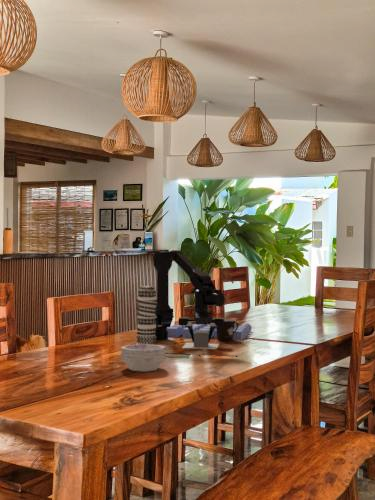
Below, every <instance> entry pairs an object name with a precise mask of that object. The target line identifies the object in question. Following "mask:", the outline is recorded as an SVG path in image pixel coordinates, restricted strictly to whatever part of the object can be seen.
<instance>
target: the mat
mask: <svg viewBox="0 0 375 500" xmlns="http://www.w3.org/2000/svg"><path fill="white" fill-rule="evenodd" d="M191 354H192V353H173V352H172V353H171V352H170V353H169V352H165V358H184V359H186V358H190V356H191Z"/></svg>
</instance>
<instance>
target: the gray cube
mask: <svg viewBox="0 0 375 500" xmlns="http://www.w3.org/2000/svg"><path fill="white" fill-rule="evenodd" d="M208 341H209V333H208V331H194V342H193V343H194V347H208Z"/></svg>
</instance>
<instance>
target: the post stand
mask: <svg viewBox="0 0 375 500" xmlns="http://www.w3.org/2000/svg"><path fill="white" fill-rule="evenodd" d="M219 346H220V343H210V342H209V343H208V347H194V342H186V343H185V344H184V345H183V346H182V348H181V349H191V350H192V349H198V350H218V347H219Z"/></svg>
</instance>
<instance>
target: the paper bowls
mask: <svg viewBox="0 0 375 500" xmlns="http://www.w3.org/2000/svg"><path fill="white" fill-rule="evenodd" d="M120 349H121V351H120V362H122V363H125V364H126V367H127V369H128V370H130V371H132V372H139V373H140V372H141V373H142V372H143V373H145V372H146V373H147V372H153V371H156V370H158V369H159V367H160V365H161V363H164V362H165V361H166V357H165V353H166V347H165V346H164V345H159V344H153V345H151V344H137V343H136V344H127V345H123V346H121V348H120Z"/></svg>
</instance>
